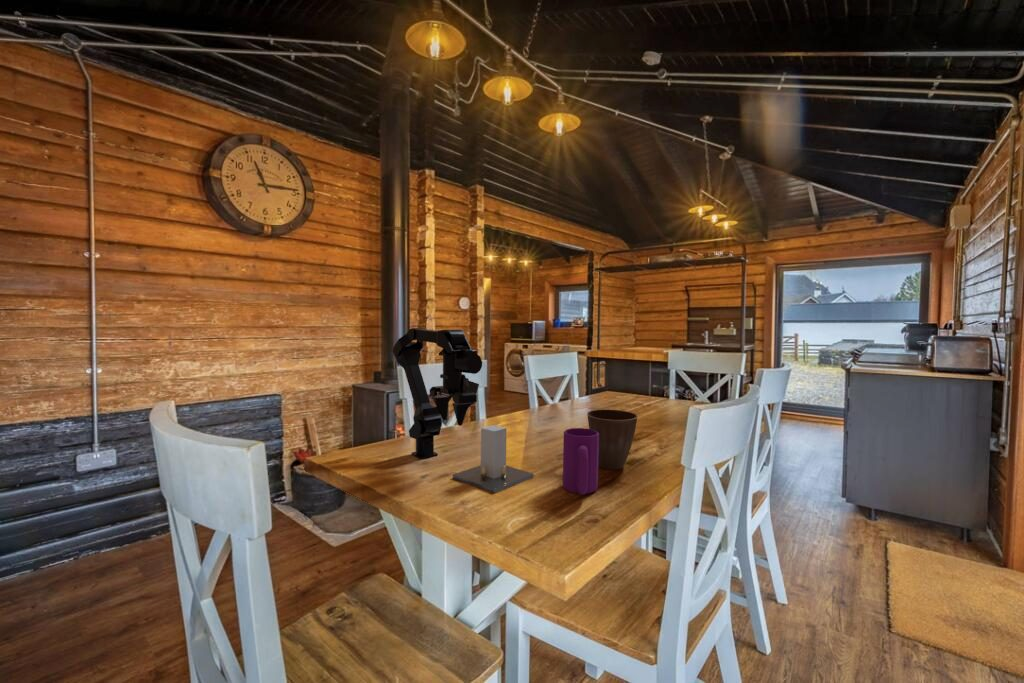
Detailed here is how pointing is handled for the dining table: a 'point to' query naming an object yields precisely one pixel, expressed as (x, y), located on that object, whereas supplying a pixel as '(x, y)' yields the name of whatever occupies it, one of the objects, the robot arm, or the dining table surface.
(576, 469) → the mug
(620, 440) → the plant pot
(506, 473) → the plate
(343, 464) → the dining table surface
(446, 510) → the dining table surface
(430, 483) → the dining table surface
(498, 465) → the block
